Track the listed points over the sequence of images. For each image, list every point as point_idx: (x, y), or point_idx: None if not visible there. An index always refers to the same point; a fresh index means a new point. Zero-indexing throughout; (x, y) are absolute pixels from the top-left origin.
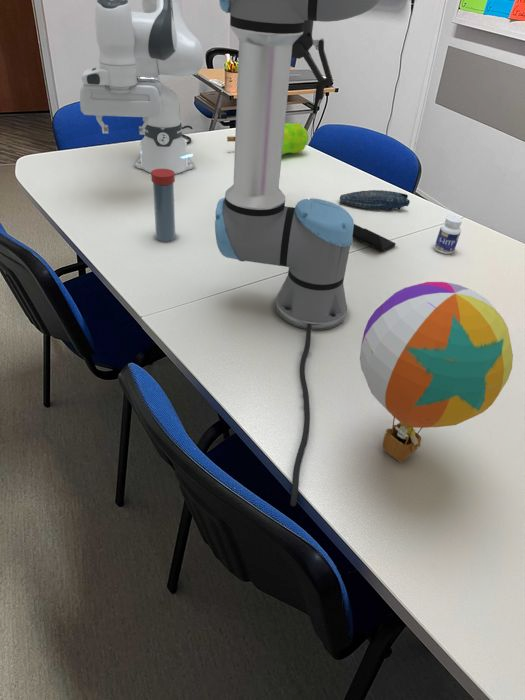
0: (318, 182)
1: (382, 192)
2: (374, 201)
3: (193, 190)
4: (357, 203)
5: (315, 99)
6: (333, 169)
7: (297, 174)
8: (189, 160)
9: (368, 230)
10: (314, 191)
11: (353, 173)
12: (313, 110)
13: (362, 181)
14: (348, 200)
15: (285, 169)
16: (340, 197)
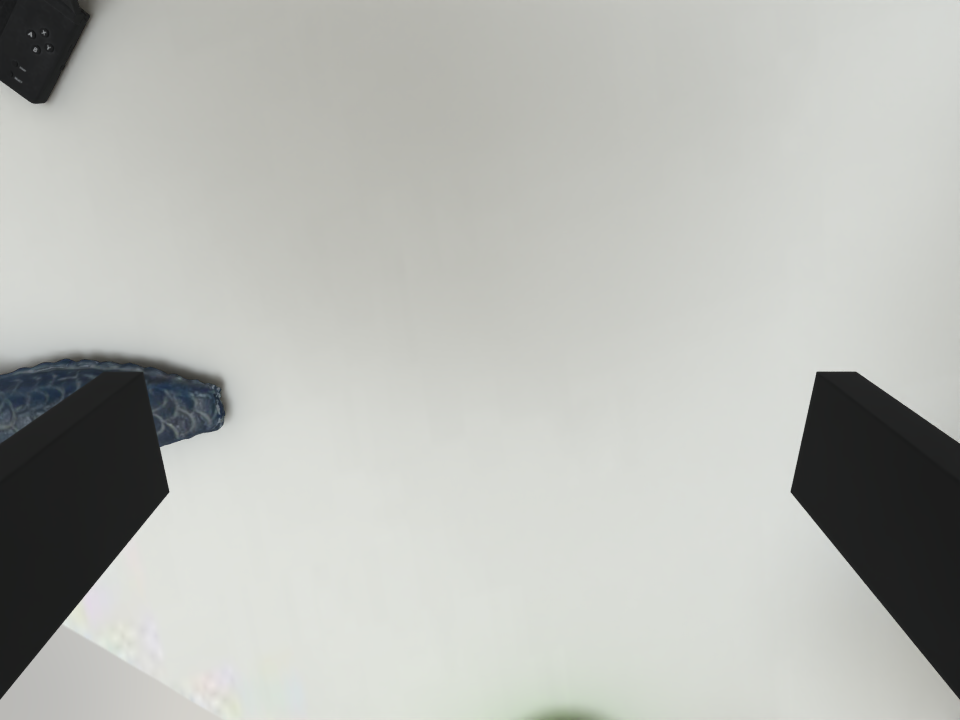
0: (352, 570)
1: (2, 437)
2: (43, 380)
3: (896, 322)
4: (129, 367)
5: (7, 462)
6: (314, 704)
7: (450, 619)
8: None
9: (9, 81)
10: (354, 478)
11: (230, 691)
12: (120, 388)
13: (179, 631)
14: (173, 383)
15: (506, 650)
16: (216, 407)
